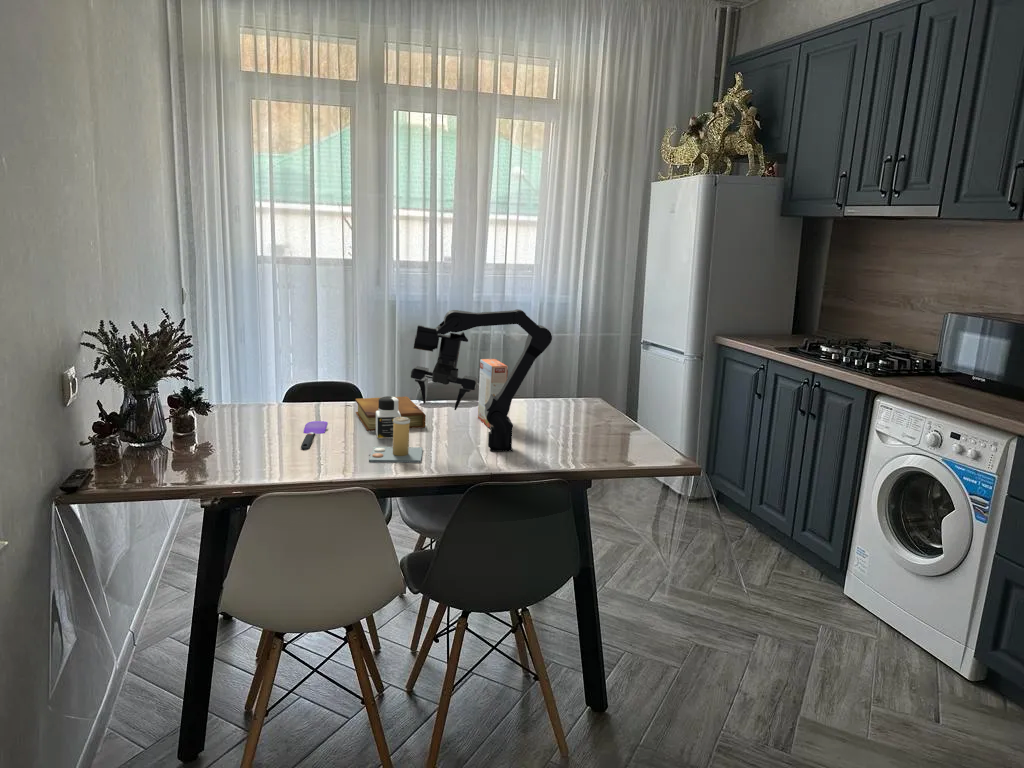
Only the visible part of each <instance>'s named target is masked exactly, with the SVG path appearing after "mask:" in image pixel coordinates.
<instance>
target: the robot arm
mask: <svg viewBox="0 0 1024 768" xmlns="http://www.w3.org/2000/svg"><path fill="white" fill-rule="evenodd" d="M504 325H505V326H506V325H507V326H508V325H518V326H519V327H520V328H522V329H523V330H524V331H525V332H526V333H527V334H528V335H527V337H526V340H525V344H524V348H523V351H522V353H521V354H520V356H519V358H518V360H517V362H516V363H515V365H514V367H513V369H512V371H511V372H510V374H509V376H507V381H506V382H505V384H504V386H503V387H502V389H501V391H500V392H499V393H498V394H497V395H496V396H493V395H492V394H491V395H490V398H489V400H488V402H487V403H486V404H485V416H486V418H487V421H488V422H489V424H491V425H493V427H491V428H490V431H488V432H487V433H488V434H487V437H488V438H487V448H488V449H489V451H491V452H513V448H512V447H513V428H514V425H513V423H512V420H511V419H510V417H509V416H508V415H509V412H510V408H511V404H512V401H513V399H514V397H515V395H516V394H517V391H518V390H519V388H520V387H521V385H522V383H523V382H524V380H525V378H526V376H527V375H528V373H529V371H530V370H531V368H532V366H533V365H534V363H535V361H536V359H537V358H538V357H539V356H540V355H542V354H543V353H544V352H545V350H547V348H549V345H550V344H551V343H552V340H553V336H552V333H551V331H550V329H548V328H546V327H545V326H544V325H540V324H537V323H535V322H534V320H532V319H531V318H530V317H529V316H528V315H527V313H526V312H525V311H524V310H522V309H514V310H497V311H485V312H472V311H465V310H459V309H456V310H455V309H452V310H449V311H447V312H446V314H445V315H444V317H443V321H441V323H439V324H438V325H437V326H436V327H435V328H434V327H428V326H424V325H420V324H418V325H417V329H416V333H415V334H414V340H413V348H412V349H415V350H419V351H426V352H434V350H437V349H438V348H439V350H438V355H437V362H436V363H435V366H434V368H433V371H430V370H429V367H425V366H424V367H423V366H418V365H416V366H415V367H414V368H413V369H412V370H411V371H410V378H411V379H414V382H416V383H418V385H419V388H420V391H421V398H422V402H423V403H422V404H423V405H425V404H426V402H427V397H428V386H429V379H431V381H432V383H439V384H443V385H449V384H450V383H453V384H457V385H461V387H460V388H459V390H458V395H457V397H456V402H455V405H454V411H457V409H458V407H459V405H460V404H461V402H462V399H463V398H464V396H465V395H466V393H470V392H471V391H475V390H476V389H477V387H478V383H479V380H478V378H477V377H474V376H471V375H470V376H469V375H464V376H463V377H459V368H457V366H458V362H459V355H460V350H461V344H462V342H465V343H467V342H469V339H468V337H467V336H466V335H465V332H464V331H468V330H471V329H474V328H478V327H489V326H490V327H493V326H504ZM460 332H461V333H460ZM448 334H449V335H448ZM439 340H440V341H439ZM439 342H440V344H439Z"/></svg>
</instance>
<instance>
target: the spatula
mask: <svg viewBox="0 0 1024 768" xmlns="http://www.w3.org/2000/svg"><path fill="white" fill-rule="evenodd" d="M328 425H329V423H328V421H324V420H323V421H322V420H319V421H318V420H316V421H315V420H314V421H308V422H307V423H305V425H304V428H303V434H306V435H305V437H304V439H303V441H302V442H301V446H300V449H301V450H302V451H306V450H309V449H310V447H311V445H312V443H313V439H314V436H315V435H319V434H325V433H326V431H327V427H328Z"/></svg>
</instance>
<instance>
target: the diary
mask: <svg viewBox="0 0 1024 768" xmlns="http://www.w3.org/2000/svg"><path fill="white" fill-rule="evenodd" d="M394 397H395V398H397V399H398V400H399V401H398V411H399V412H400V415H401V417H406V418H409V419H410V423H409V430H410V429H423V428H425V427H426V424H427V421H426V420H427V416H426V414H425V412H423V410H422V409H420V407H419V406H417V405H416V404H415V403H414V402H413V401H412V400H411V399H410V398H409V397H408V396H394ZM380 398H381V397H366V398H365V397H363V398H355V403H356V404H357V411H355V415H357V418H358V419H359V421H361V423H362V425H363V426H364V428H365V429H366V431H367V432H373V431H375V432H376V411H379V410H378V406H379V399H380Z"/></svg>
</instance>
